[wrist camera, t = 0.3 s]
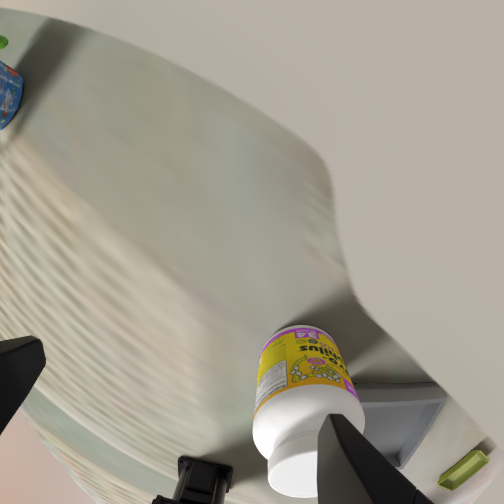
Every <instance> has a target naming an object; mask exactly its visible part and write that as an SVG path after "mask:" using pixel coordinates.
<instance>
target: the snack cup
mask: <svg viewBox="0 0 504 504" xmlns="http://www.w3.org/2000/svg"><path fill="white" fill-rule="evenodd" d="M7 44H8V40H7V38H5V37H4V36H1V35H0V49H3V48H4V47H6V46H7ZM23 81H24V80H23V78H22V77H21V76H20V74H19V73H17V72H16V71H15V70H13V69H12V68H11V67H9V66H8V65H6V64H4V63H2V62H1V61H0V130H1V129H3V127H4V126H5V125H6V124H7V123H8V122H9V121H10V119H11V118H12V117H13V115H14V113H15V112H16V111H17V109H18V107H19V102H20V99H21V96H22V87H23Z"/></svg>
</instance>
